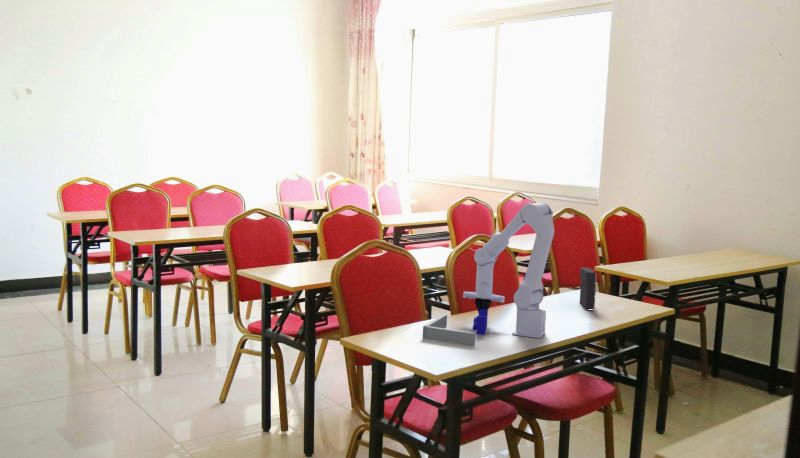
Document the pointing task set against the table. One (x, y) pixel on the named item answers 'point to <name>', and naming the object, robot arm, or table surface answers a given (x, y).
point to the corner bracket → (447, 333)
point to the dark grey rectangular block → (587, 288)
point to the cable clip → (481, 322)
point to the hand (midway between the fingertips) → (482, 320)
